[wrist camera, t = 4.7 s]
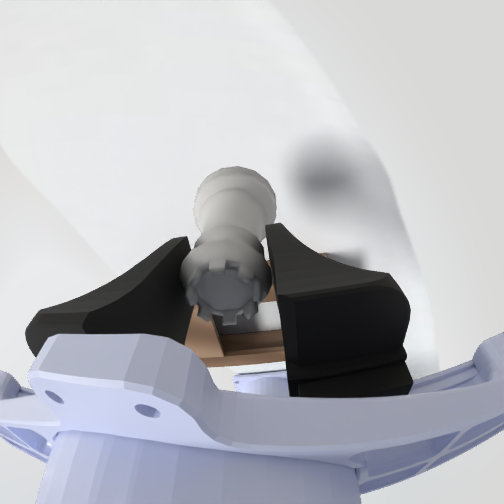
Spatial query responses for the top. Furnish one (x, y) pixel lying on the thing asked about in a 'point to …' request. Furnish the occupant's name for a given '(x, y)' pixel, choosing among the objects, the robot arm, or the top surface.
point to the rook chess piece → (230, 245)
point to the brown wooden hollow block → (234, 342)
